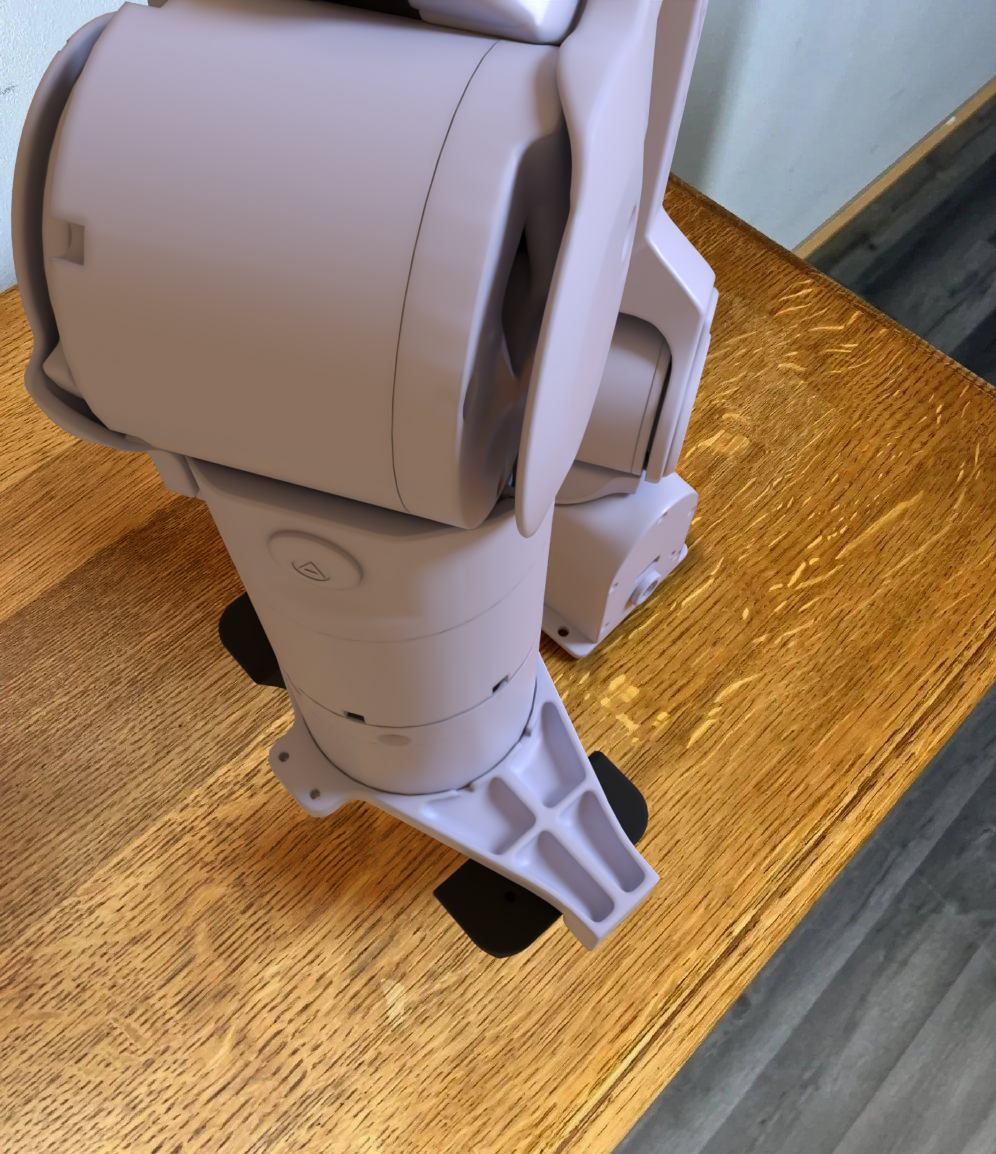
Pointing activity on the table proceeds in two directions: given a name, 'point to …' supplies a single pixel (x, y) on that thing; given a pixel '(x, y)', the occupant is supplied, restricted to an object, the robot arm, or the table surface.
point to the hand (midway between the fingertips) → (435, 789)
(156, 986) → the table surface
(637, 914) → the table surface
